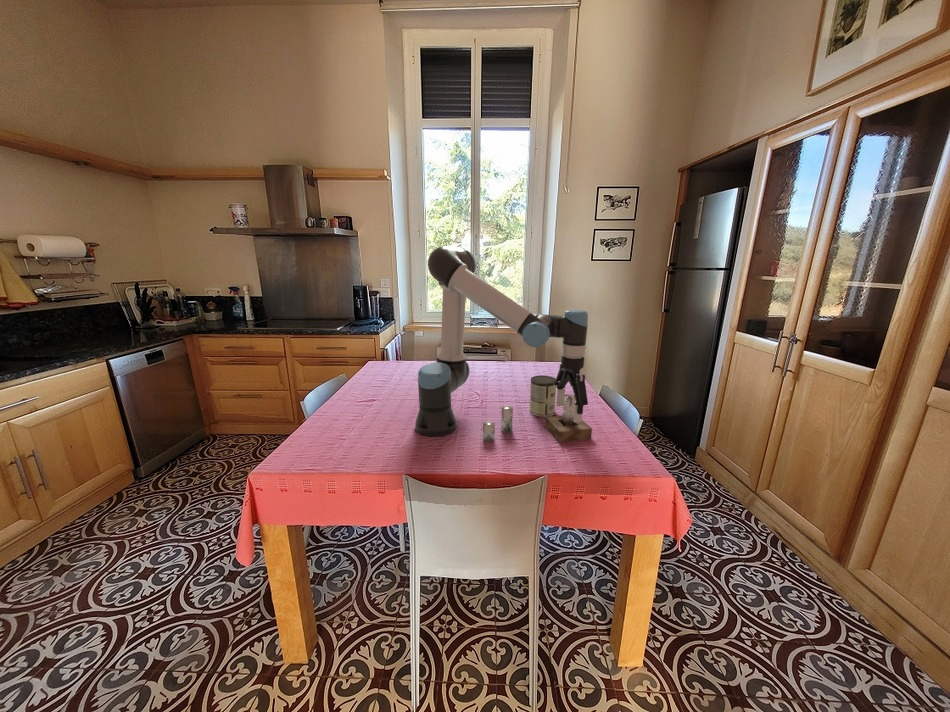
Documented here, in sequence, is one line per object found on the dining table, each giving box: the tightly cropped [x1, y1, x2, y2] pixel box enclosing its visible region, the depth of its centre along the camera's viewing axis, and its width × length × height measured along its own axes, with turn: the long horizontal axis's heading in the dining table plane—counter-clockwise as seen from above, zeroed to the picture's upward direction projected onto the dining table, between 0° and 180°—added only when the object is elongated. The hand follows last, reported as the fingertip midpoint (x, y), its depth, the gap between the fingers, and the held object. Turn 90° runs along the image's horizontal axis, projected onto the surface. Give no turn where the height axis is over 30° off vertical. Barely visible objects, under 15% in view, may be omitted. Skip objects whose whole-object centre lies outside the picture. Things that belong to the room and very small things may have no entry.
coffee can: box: [529, 374, 557, 418], centre depth 143 cm, size 10×10×14 cm
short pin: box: [482, 420, 496, 443], centre depth 122 cm, size 4×4×6 cm
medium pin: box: [500, 405, 514, 434], centre depth 128 cm, size 4×4×9 cm
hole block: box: [544, 414, 593, 443], centre depth 127 cm, size 12×12×4 cm
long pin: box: [562, 393, 576, 427], centre depth 125 cm, size 4×4×14 cm
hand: (568, 413), depth 125 cm, fingers open, 13 cm apart
